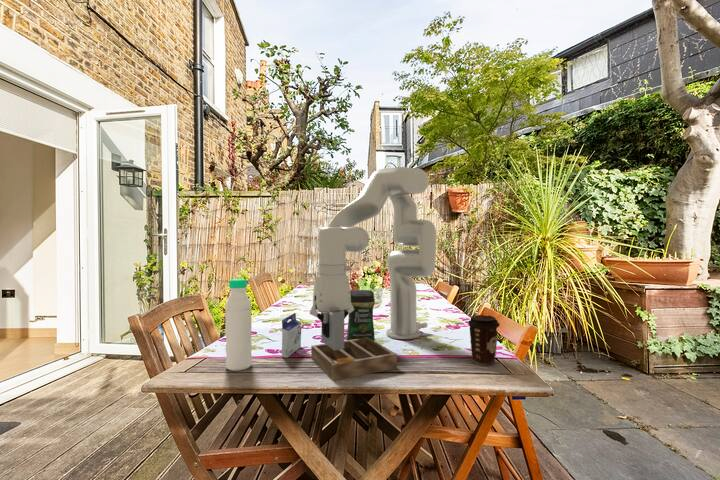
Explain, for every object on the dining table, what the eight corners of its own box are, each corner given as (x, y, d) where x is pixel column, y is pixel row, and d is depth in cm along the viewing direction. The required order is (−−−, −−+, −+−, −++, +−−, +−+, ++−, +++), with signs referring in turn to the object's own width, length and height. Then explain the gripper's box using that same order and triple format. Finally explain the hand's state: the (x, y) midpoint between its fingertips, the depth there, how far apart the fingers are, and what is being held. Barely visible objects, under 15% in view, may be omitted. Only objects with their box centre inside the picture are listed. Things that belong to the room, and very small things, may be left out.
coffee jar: (347, 348, 119) (346, 292, 118) (346, 341, 127) (345, 288, 126) (376, 347, 119) (376, 291, 119) (373, 340, 127) (373, 288, 127)
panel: (331, 339, 107) (331, 305, 107) (344, 348, 98) (344, 312, 98) (321, 340, 106) (321, 306, 106) (333, 350, 97) (333, 313, 97)
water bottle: (237, 373, 98) (236, 281, 98) (220, 368, 102) (219, 280, 101) (257, 365, 104) (256, 278, 104) (240, 360, 108) (239, 277, 107)
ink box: (288, 358, 110) (288, 320, 110) (281, 357, 110) (280, 320, 110) (302, 346, 121) (301, 312, 121) (295, 346, 122) (295, 312, 121)
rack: (367, 349, 117) (367, 334, 117) (396, 368, 101) (396, 350, 101) (311, 358, 109) (311, 342, 109) (333, 380, 93) (333, 361, 93)
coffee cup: (499, 358, 108) (499, 315, 108) (500, 368, 101) (500, 321, 100) (468, 355, 111) (468, 313, 111) (467, 364, 103) (467, 319, 103)
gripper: (353, 268, 109) (353, 329, 109) (300, 270, 102) (300, 335, 102) (364, 270, 102) (364, 335, 102) (308, 273, 95) (308, 342, 95)
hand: (332, 335), depth 102 cm, fingers closed on panel, 3 cm apart
